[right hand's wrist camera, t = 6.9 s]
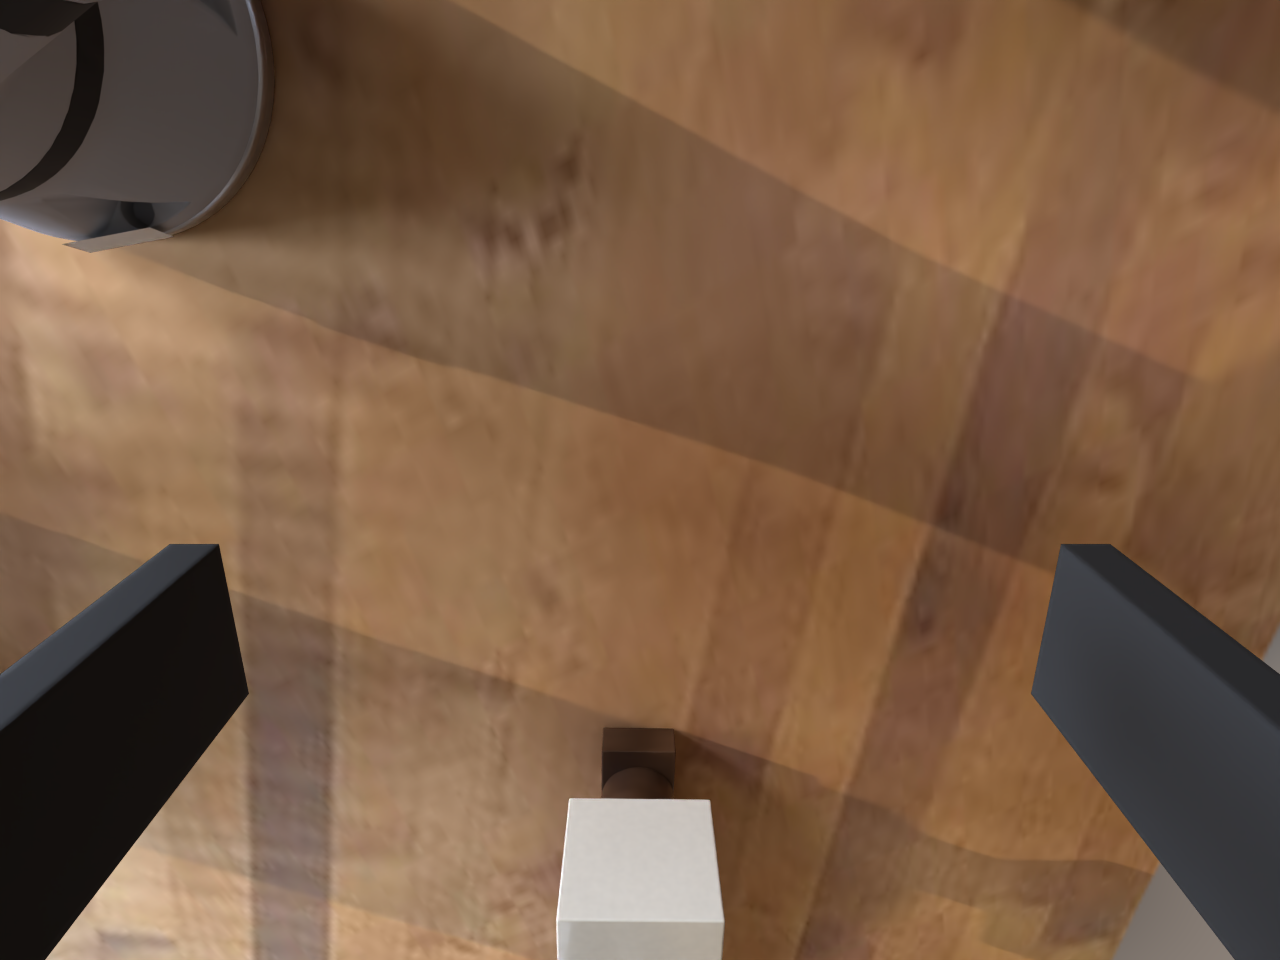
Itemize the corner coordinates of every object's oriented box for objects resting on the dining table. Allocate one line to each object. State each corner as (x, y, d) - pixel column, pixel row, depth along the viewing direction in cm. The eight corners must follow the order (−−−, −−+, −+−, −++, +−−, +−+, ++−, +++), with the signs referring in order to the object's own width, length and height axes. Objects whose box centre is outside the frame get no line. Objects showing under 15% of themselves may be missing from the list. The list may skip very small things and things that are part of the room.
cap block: (570, 903, 42) (559, 1036, 36) (568, 797, 40) (556, 920, 33) (703, 904, 42) (716, 1038, 36) (710, 798, 40) (725, 921, 33)
